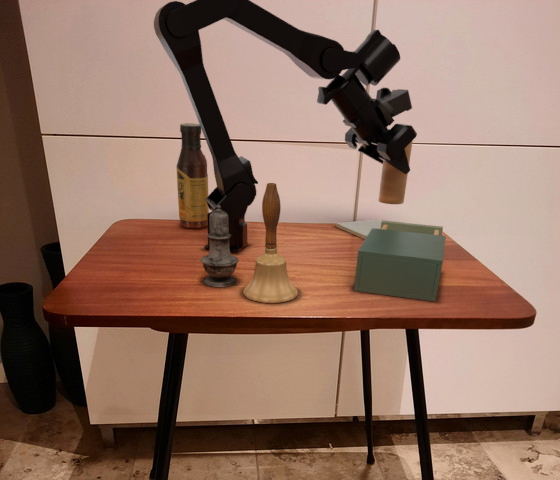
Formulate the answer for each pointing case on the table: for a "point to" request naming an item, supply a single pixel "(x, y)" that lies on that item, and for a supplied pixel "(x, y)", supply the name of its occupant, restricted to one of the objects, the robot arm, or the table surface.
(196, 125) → the sauce bottle
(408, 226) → the drawer
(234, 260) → the salt shaker
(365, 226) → the tile
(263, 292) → the hand bell
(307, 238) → the table surface
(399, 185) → the pepper mill
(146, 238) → the table surface
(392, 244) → the cabinet
